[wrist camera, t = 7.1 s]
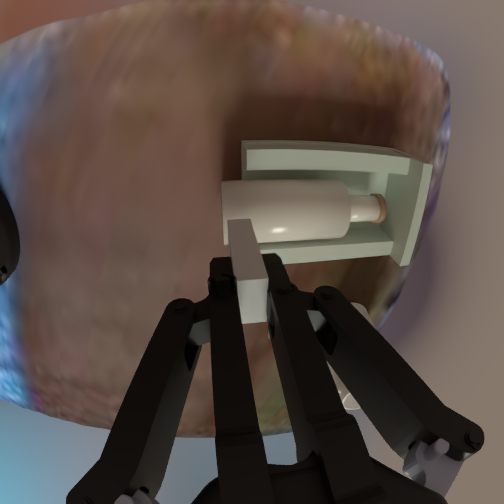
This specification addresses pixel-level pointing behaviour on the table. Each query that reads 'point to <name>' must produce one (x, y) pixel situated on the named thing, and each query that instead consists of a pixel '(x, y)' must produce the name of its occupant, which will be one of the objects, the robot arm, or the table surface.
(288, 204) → the bottle
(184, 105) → the table surface
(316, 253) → the cradle
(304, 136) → the table surface
